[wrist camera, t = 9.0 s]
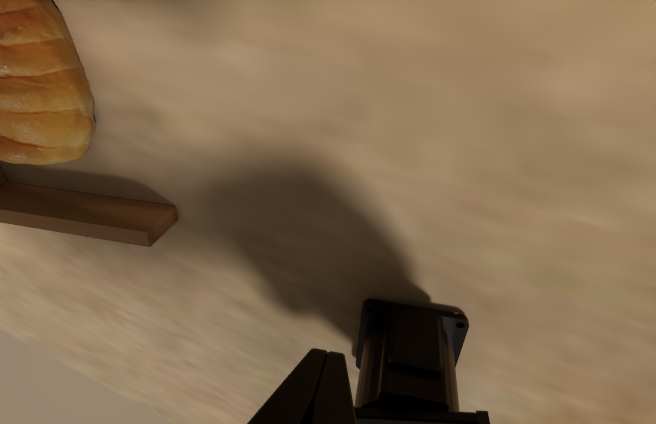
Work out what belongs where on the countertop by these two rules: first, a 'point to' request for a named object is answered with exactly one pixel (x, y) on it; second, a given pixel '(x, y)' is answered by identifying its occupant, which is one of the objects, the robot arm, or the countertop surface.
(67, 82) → the pastry
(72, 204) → the box
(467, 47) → the countertop surface
